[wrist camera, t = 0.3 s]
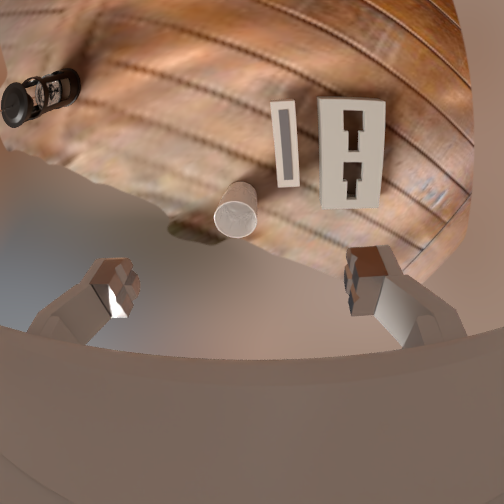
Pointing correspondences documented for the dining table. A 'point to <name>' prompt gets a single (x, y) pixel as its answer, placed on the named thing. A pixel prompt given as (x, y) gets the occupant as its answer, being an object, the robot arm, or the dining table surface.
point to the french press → (37, 97)
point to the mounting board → (350, 151)
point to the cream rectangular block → (285, 142)
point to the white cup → (237, 211)
